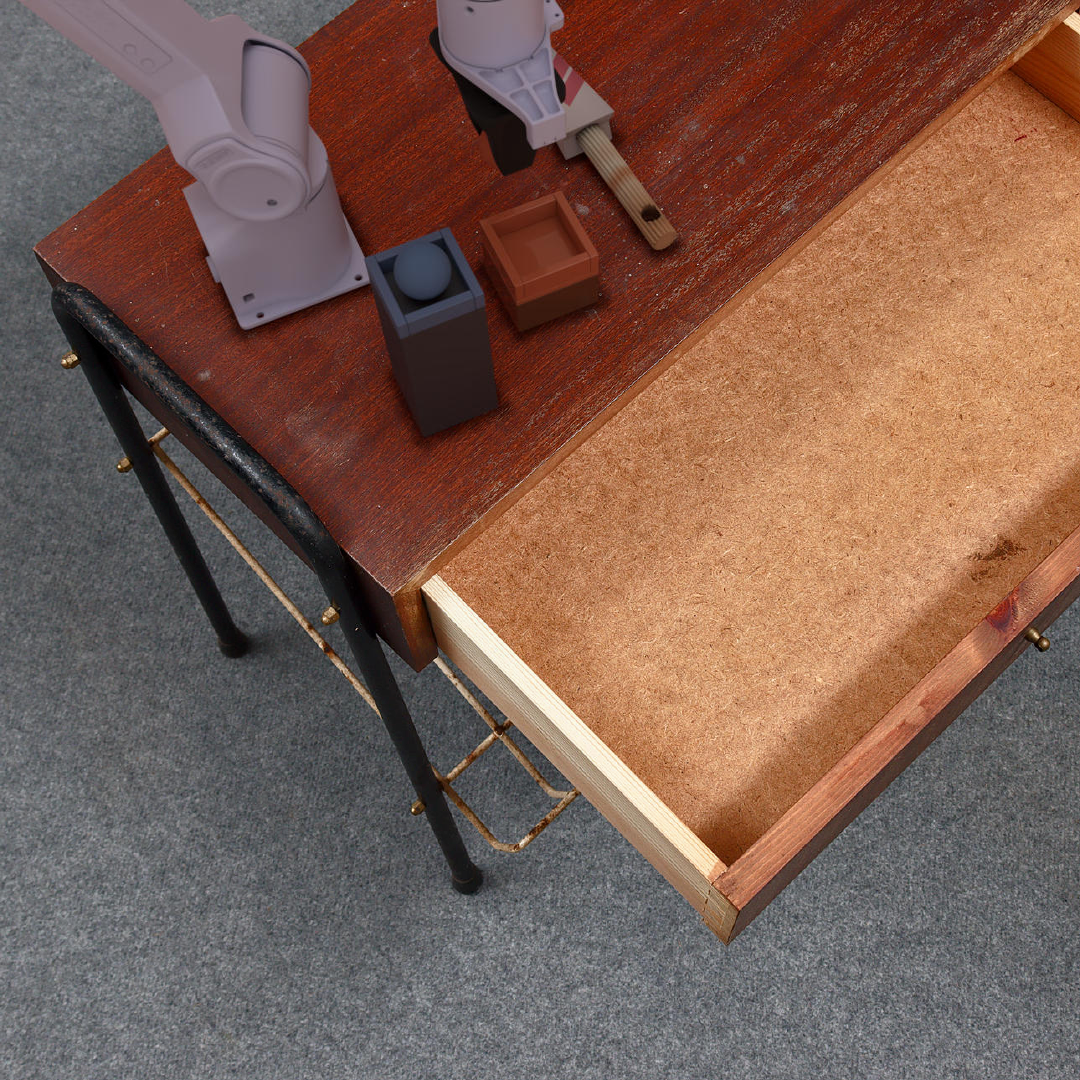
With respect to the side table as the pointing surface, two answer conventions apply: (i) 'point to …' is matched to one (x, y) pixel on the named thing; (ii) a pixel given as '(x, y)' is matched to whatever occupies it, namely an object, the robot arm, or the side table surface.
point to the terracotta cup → (540, 260)
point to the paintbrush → (606, 153)
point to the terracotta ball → (486, 150)
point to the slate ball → (422, 270)
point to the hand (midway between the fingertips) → (504, 147)
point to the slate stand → (437, 340)
